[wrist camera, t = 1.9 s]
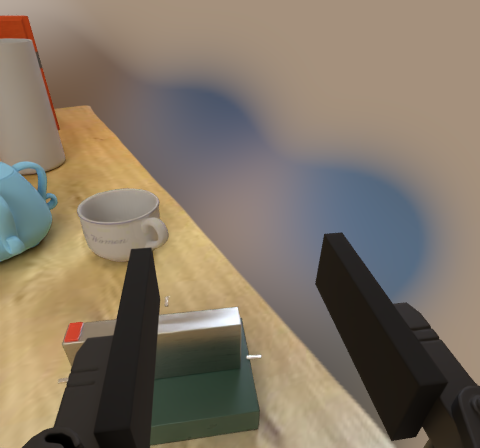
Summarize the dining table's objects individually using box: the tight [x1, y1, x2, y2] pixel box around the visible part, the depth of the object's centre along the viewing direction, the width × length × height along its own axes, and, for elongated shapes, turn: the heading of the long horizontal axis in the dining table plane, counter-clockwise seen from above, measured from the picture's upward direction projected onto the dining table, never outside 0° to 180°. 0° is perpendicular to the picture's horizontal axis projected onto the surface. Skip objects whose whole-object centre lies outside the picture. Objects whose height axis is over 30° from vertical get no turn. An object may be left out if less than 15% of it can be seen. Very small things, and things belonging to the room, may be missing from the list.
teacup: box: [77, 189, 168, 262], centre depth 48 cm, size 14×11×8 cm
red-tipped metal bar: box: [62, 307, 241, 379], centre depth 29 cm, size 14×2×6 cm, turn 98°
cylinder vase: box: [0, 38, 65, 175], centre depth 70 cm, size 12×12×25 cm
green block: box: [58, 296, 261, 445], centre depth 32 cm, size 18×18×3 cm
